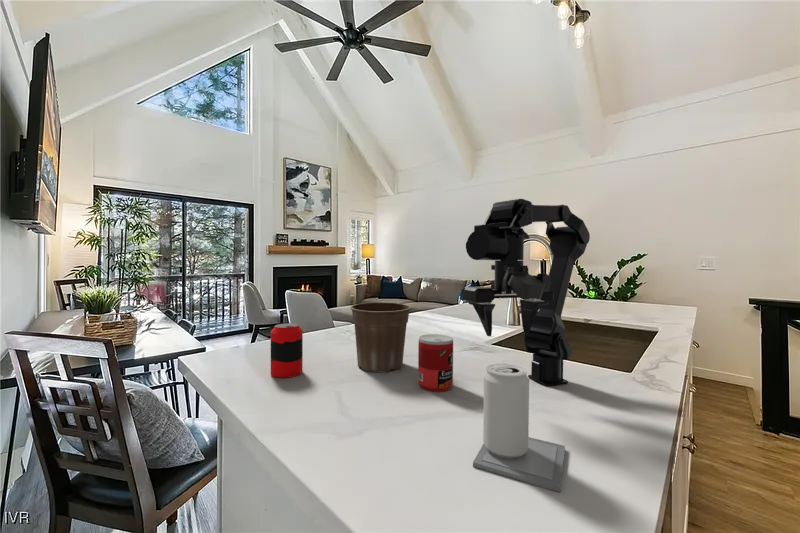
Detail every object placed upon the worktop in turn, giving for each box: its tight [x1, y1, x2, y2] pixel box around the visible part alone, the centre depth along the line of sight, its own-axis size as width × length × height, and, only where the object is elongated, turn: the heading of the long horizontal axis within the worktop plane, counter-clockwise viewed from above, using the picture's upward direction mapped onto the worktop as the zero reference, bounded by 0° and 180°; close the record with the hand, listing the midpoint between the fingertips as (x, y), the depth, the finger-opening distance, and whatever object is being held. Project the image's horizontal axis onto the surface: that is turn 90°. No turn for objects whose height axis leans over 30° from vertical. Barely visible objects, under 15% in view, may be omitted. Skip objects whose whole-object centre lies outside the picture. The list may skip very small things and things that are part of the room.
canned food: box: [417, 333, 454, 393], centre depth 79 cm, size 8×8×11 cm
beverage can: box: [482, 363, 530, 459], centre depth 51 cm, size 6×6×12 cm
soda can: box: [270, 322, 304, 379], centre depth 86 cm, size 8×8×12 cm
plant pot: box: [350, 302, 412, 373], centre depth 93 cm, size 16×16×16 cm
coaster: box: [472, 437, 566, 493], centre depth 50 cm, size 11×11×1 cm
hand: (507, 334), depth 73 cm, fingers open, 9 cm apart
